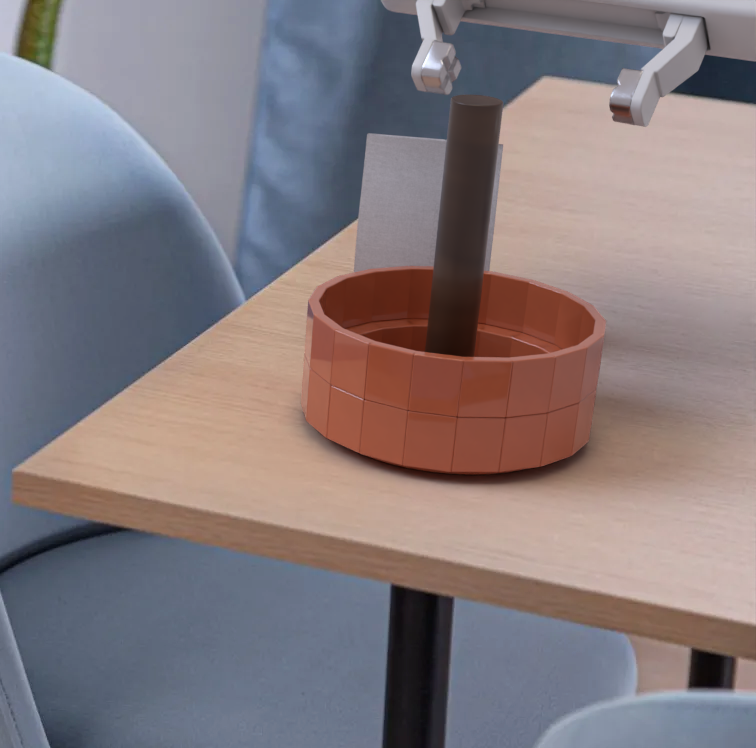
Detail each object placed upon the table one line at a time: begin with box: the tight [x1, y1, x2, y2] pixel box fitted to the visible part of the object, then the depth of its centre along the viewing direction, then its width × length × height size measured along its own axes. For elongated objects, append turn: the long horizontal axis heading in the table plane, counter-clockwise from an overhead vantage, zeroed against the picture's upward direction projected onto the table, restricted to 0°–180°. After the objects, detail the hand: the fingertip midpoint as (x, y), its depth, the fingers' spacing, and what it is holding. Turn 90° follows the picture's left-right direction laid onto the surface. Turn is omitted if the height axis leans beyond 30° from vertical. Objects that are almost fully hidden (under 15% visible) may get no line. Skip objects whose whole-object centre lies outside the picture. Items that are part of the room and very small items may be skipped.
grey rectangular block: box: [353, 132, 504, 272], centre depth 90 cm, size 4×7×10 cm, turn 81°
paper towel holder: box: [425, 94, 504, 357], centre depth 77 cm, size 6×6×14 cm
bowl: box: [300, 266, 607, 476], centre depth 79 cm, size 13×13×6 cm
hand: (524, 100), depth 78 cm, fingers open, 8 cm apart
